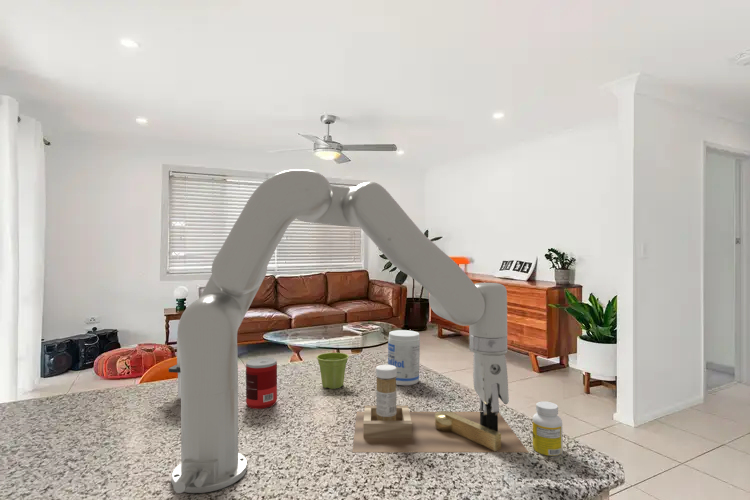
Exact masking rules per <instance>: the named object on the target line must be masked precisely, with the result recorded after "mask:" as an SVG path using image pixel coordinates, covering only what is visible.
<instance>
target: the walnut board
mask: <svg viewBox="0 0 750 500" xmlns="http://www.w3.org/2000/svg"><path fill="white" fill-rule="evenodd" d="M409 412H410V417H411V422H412V438H363V423H364V411H356V416H355V423H354V424H355V425H354V433H353V441H352V451H351V452H352V453H529V451H528V449H527V448H526V447H525V445H524V444H523V443H522V441H521V440H520V438H519V437H518V436H517V434H516V433H515V431H514V430H513V429H512V428H511V427H510V424H508V423H507V421H506V420H505V418H504V417H503V416H502V414H501V413H500V412H499V413H498V432H499V433H501V449H499V450H497V451H494V450H491V449H489V448H487V447H485V446H483V445H481V444H478V443H476V442H474V441H472V440H470V439H468V438H465V437H463V436H461V435H459V434H457V433H455V432H452V431H442V430H439V429H437V428H436V427H435V413H437V412H438V411H409ZM453 412H454V413H456V414H457V415H458V416H461V417H463V418H466V419H468V420H470V421H473V422H475V423H478V424H480V412H481V411H453Z"/></svg>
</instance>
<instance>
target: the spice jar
mask: <svg viewBox="0 0 750 500" xmlns="http://www.w3.org/2000/svg"><path fill="white" fill-rule="evenodd" d="M375 376H376V389H375V390H376V391H375V393H376V395H375V397H376V399H375V403H376V404H375V405H376V413H377V421H396V405H397V385H396V376H397V368H396V367H395V366H393V365H388V364H380V365H377V366H376V367H375Z"/></svg>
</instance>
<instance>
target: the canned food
mask: <svg viewBox="0 0 750 500" xmlns="http://www.w3.org/2000/svg"><path fill="white" fill-rule="evenodd" d="M277 400H278V361H277V359H276V358H273V357H257V358H252V359H249V360H247V361H246V363H245V403H246V406H247V407H248V408H249V409H253V410H262V409H267V408H270V407H273V406H274V405H276V403H277Z"/></svg>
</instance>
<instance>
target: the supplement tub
mask: <svg viewBox="0 0 750 500" xmlns="http://www.w3.org/2000/svg"><path fill="white" fill-rule="evenodd" d="M420 342H421V339H420V332H418V331H414V330H410V329H409V330H407V329H397V330H392V331H389V332H388V341H387V365H393V366H395V367H396V368H397V376H396V386H413V385H416V384H417V383H418V382H419V381H420V355H421V351H420V350H421V348H420V347H421V345H420V344H421V343H420Z"/></svg>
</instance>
